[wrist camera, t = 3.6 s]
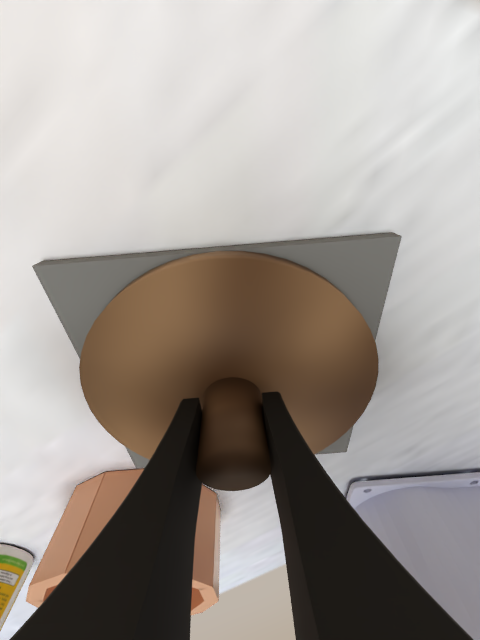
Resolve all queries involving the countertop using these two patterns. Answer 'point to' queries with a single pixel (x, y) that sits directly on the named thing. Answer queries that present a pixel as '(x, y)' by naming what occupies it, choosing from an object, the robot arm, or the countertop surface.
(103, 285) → the mat
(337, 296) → the lid
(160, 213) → the countertop surface
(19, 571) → the supplement bottle
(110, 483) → the bowl
